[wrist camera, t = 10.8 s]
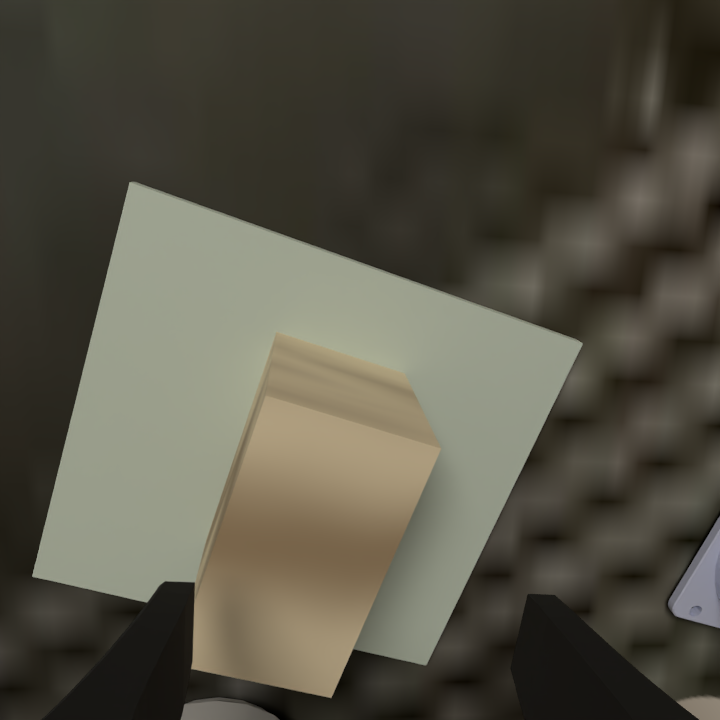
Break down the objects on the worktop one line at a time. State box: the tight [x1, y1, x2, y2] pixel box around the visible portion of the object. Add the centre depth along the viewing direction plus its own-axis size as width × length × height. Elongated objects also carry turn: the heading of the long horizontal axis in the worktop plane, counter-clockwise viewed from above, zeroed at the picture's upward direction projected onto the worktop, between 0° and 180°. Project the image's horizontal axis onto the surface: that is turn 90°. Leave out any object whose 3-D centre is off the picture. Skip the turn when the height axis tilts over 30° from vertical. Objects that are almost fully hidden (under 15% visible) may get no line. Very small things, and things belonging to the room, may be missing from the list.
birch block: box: [191, 332, 441, 698], centre depth 18 cm, size 8×4×6 cm, turn 160°
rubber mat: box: [32, 182, 583, 665], centre depth 20 cm, size 15×14×1 cm
